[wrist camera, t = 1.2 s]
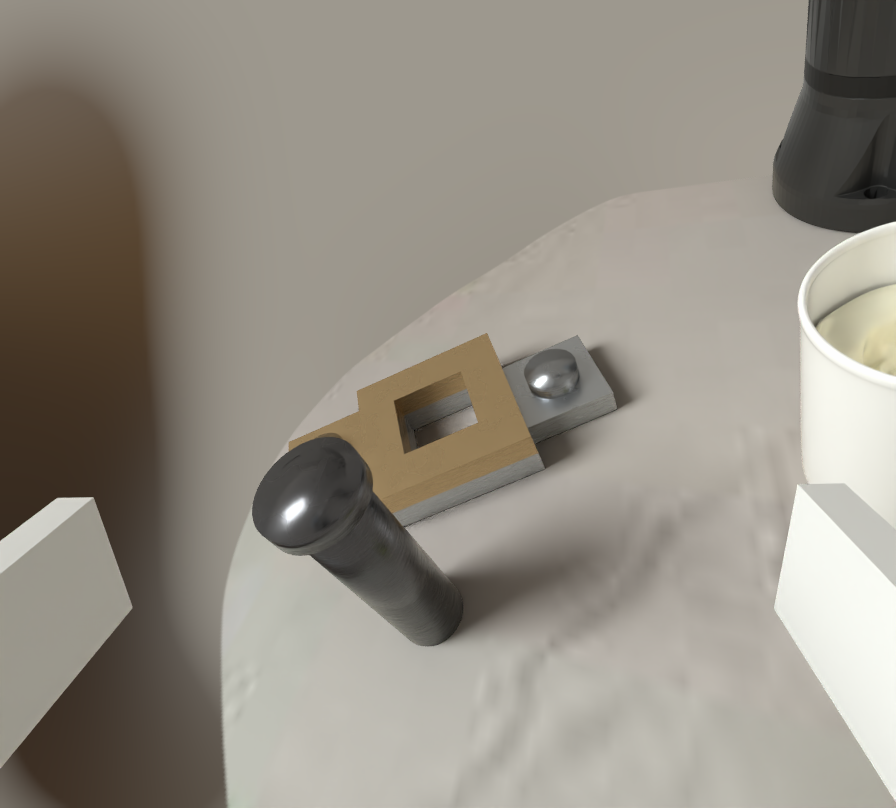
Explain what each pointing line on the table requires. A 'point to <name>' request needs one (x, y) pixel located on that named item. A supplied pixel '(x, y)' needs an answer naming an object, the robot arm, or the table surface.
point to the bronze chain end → (449, 458)
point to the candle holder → (851, 368)
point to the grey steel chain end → (524, 415)
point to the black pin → (355, 537)
